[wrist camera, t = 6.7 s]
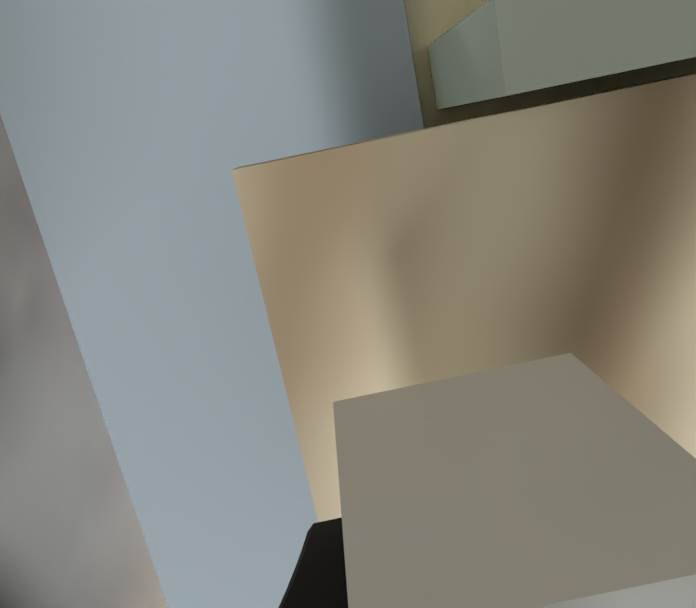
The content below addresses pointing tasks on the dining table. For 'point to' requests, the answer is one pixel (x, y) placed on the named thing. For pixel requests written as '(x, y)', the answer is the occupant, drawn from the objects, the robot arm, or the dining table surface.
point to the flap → (485, 257)
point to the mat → (190, 242)
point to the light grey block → (513, 495)
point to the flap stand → (555, 44)
